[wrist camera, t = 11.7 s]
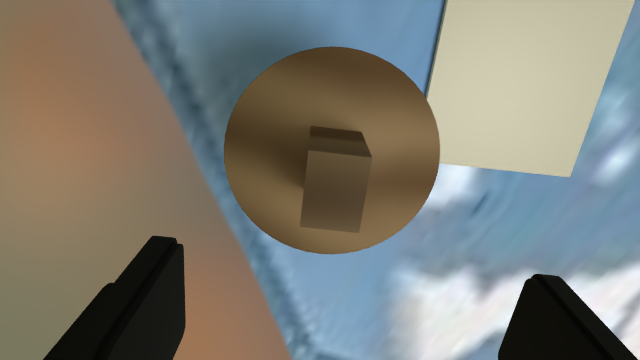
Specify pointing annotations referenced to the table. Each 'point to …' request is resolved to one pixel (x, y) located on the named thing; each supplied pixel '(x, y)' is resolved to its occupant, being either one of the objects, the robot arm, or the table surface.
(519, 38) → the placemat
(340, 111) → the lid
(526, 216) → the table surface
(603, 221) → the table surface
